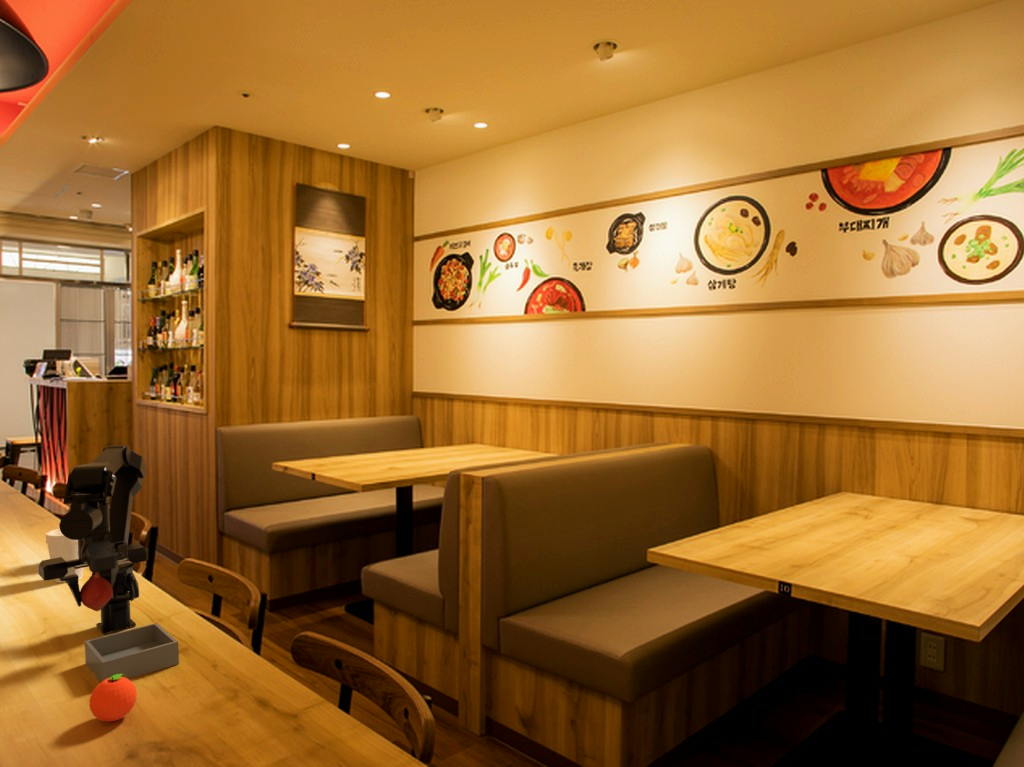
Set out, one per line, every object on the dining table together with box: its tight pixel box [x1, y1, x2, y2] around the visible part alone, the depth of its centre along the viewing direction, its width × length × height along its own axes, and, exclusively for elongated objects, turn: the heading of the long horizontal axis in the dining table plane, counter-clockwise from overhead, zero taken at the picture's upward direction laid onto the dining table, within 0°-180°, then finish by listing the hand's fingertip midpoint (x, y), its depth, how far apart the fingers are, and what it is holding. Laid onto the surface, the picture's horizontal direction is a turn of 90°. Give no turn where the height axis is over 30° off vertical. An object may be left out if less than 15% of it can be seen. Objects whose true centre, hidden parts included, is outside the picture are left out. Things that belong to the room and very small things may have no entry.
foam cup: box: [45, 528, 85, 584], centre depth 191 cm, size 10×9×13 cm
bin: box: [84, 622, 180, 684], centre depth 140 cm, size 13×13×4 cm
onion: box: [80, 572, 113, 612], centre depth 146 cm, size 6×6×8 cm
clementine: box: [89, 674, 137, 723], centre depth 120 cm, size 8×7×7 cm
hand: (96, 602), depth 146 cm, fingers closed on onion, 6 cm apart
